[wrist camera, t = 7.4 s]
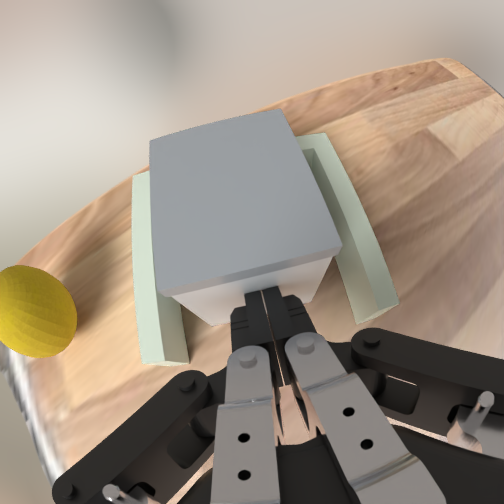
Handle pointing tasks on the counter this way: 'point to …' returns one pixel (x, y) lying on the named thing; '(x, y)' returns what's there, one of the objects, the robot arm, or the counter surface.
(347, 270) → the bay
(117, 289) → the counter surface
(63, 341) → the lemon
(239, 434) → the robot arm
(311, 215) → the lidded grey box
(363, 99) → the counter surface
